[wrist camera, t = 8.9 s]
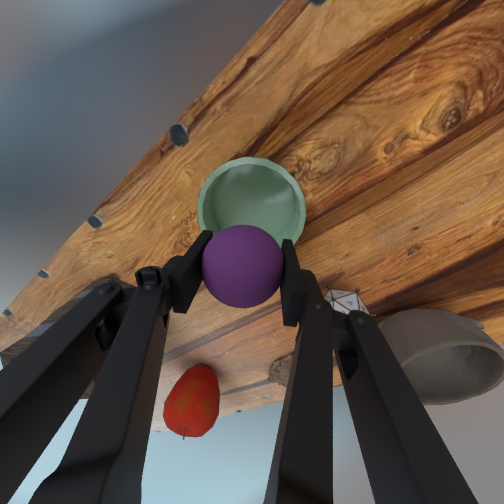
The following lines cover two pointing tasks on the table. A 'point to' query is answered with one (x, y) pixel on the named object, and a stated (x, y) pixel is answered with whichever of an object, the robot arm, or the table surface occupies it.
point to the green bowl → (253, 198)
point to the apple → (193, 402)
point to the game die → (346, 301)
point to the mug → (33, 335)
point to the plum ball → (242, 266)
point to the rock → (281, 371)
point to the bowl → (444, 354)
